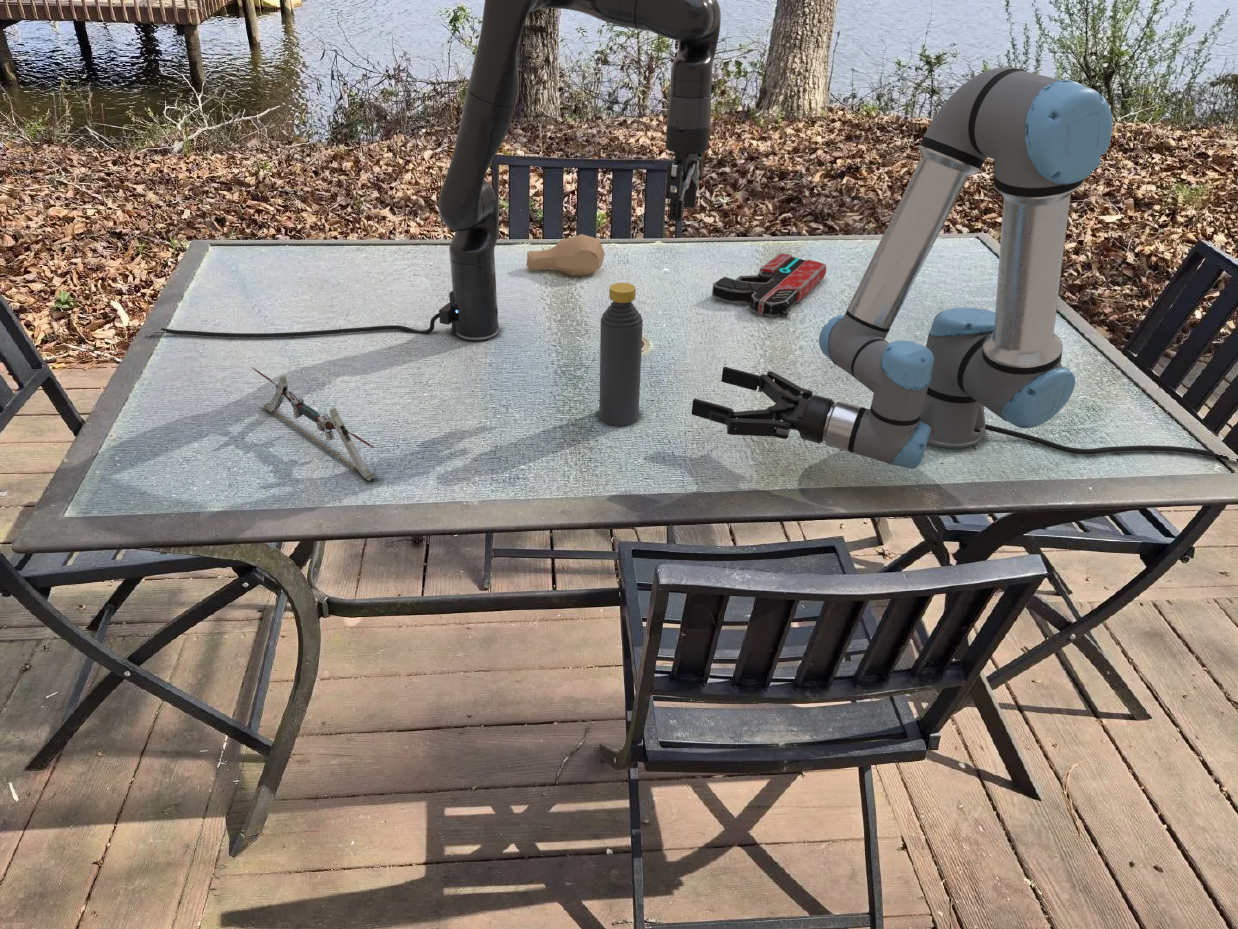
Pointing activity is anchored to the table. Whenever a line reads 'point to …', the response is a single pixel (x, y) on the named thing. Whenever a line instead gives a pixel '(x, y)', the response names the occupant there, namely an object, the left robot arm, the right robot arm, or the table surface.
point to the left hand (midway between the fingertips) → (682, 213)
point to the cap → (622, 292)
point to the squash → (569, 256)
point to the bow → (319, 423)
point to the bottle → (620, 364)
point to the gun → (772, 285)
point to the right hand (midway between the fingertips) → (708, 389)
